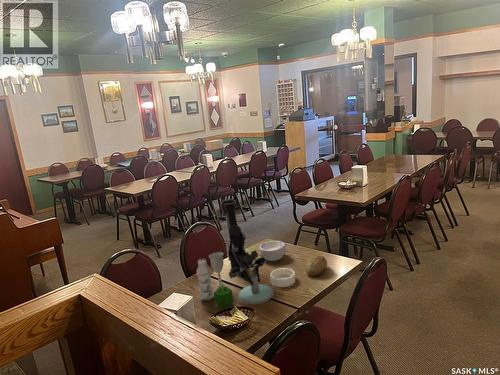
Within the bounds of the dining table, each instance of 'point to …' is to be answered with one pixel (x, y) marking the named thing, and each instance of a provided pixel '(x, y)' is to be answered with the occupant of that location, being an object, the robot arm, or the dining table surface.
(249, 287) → the lid
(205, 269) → the plastic bottle
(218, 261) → the chalice
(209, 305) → the dining table surface
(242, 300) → the mat
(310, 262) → the bread roll
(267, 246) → the paper bowls
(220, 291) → the bell pepper
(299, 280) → the dining table surface
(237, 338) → the dining table surface
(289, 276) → the bowl
